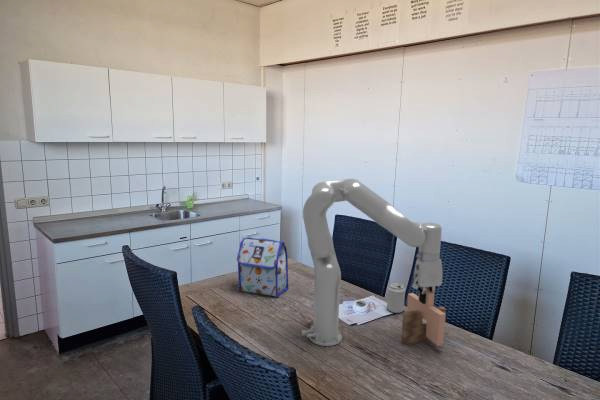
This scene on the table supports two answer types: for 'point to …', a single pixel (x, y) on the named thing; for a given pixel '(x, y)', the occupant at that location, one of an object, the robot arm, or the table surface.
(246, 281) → the lunch bag
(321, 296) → the robot arm
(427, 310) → the pink notched panel
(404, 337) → the board
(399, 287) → the can
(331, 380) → the table surface
